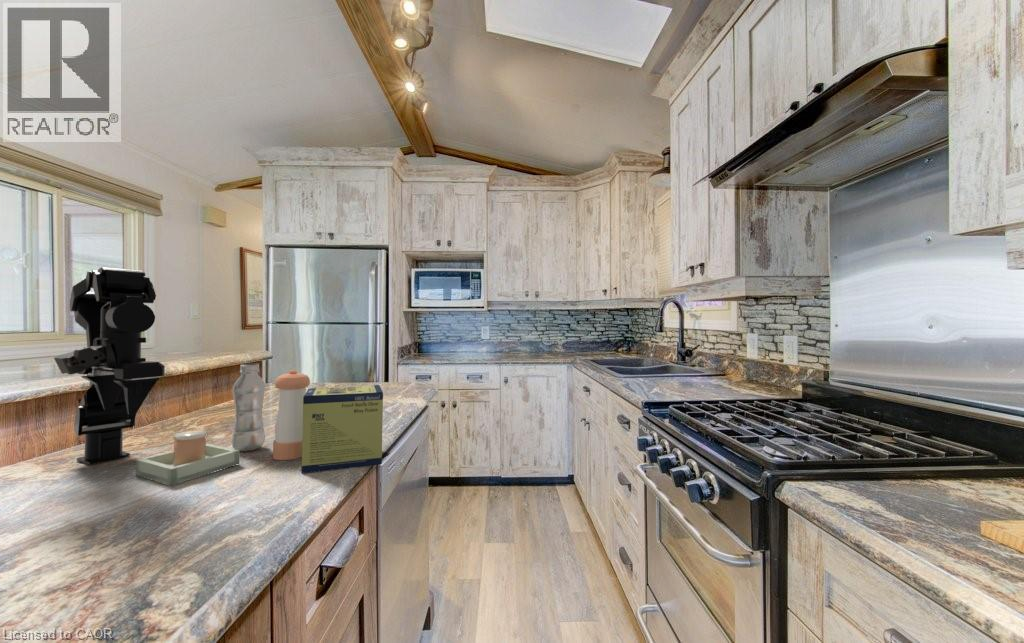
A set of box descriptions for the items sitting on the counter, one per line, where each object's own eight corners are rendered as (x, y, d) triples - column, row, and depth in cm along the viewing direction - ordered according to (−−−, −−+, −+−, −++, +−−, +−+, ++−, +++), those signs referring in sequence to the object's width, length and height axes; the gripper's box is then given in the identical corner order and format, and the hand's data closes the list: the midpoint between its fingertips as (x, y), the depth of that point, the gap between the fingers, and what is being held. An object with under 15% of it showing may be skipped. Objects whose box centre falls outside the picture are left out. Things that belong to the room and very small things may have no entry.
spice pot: (167, 466, 78) (169, 434, 79) (196, 458, 83) (197, 429, 83) (181, 470, 76) (182, 438, 76) (210, 463, 81) (211, 432, 81)
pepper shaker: (298, 460, 86) (300, 372, 86) (265, 460, 86) (266, 371, 86) (315, 449, 93) (317, 368, 93) (285, 449, 93) (286, 368, 93)
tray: (135, 475, 77) (136, 459, 77) (204, 456, 88) (205, 443, 88) (170, 485, 72) (171, 469, 72) (239, 464, 83) (239, 450, 83)
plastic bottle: (271, 446, 95) (272, 363, 96) (250, 455, 89) (251, 366, 89) (246, 445, 96) (248, 362, 96) (223, 454, 89) (225, 365, 89)
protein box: (383, 464, 84) (384, 391, 84) (300, 474, 78) (301, 395, 78) (379, 450, 93) (380, 384, 94) (305, 458, 87) (306, 387, 88)
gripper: (39, 332, 74) (37, 415, 74) (87, 334, 66) (85, 427, 66) (117, 331, 84) (116, 405, 84) (166, 333, 77) (165, 413, 76)
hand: (119, 412), depth 77 cm, fingers open, 9 cm apart
